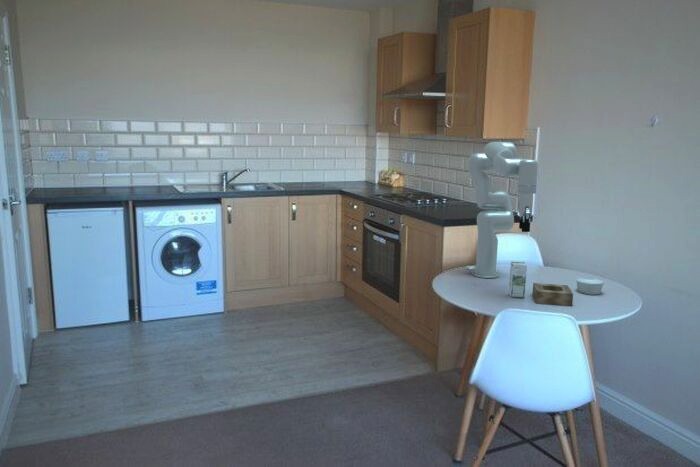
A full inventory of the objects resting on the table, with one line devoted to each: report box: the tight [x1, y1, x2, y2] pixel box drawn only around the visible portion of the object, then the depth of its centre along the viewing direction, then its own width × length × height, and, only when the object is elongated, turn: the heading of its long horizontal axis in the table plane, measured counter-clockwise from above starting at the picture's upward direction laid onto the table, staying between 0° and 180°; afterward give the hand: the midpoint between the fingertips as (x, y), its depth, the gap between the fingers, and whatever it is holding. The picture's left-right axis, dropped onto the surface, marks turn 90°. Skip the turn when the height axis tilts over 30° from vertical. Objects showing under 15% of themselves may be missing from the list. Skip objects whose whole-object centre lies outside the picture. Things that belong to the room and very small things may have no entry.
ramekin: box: [575, 277, 604, 296], centre depth 257 cm, size 11×11×5 cm
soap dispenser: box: [508, 261, 528, 299], centre depth 247 cm, size 6×6×14 cm
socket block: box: [532, 282, 574, 307], centre depth 243 cm, size 14×14×5 cm
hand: (524, 230), depth 246 cm, fingers open, 9 cm apart
